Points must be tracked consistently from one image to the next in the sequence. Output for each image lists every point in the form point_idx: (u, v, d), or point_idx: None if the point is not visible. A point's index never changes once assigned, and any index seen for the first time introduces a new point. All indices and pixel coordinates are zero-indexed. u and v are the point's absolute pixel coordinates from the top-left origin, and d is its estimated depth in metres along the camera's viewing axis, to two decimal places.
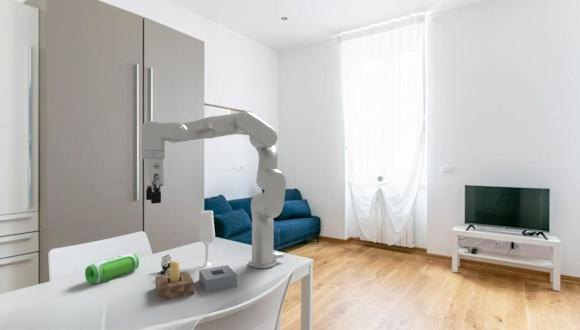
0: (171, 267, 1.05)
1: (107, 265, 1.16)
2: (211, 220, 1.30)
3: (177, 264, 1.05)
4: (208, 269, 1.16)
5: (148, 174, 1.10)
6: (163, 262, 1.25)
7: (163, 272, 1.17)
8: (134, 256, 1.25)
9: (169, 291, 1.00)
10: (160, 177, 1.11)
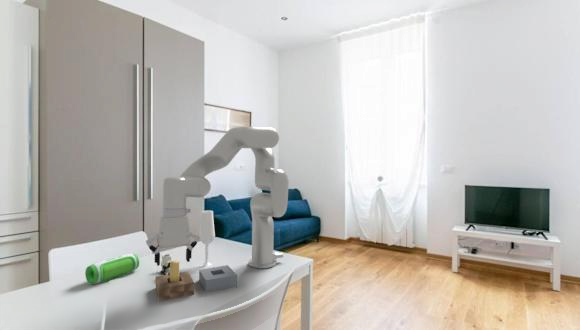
0: (171, 267, 1.05)
1: (107, 265, 1.15)
2: (211, 220, 1.30)
3: (177, 264, 1.05)
4: (208, 269, 1.16)
5: (184, 233, 1.05)
6: (163, 262, 1.25)
7: (163, 272, 1.17)
8: (134, 256, 1.25)
9: (169, 291, 1.00)
10: None
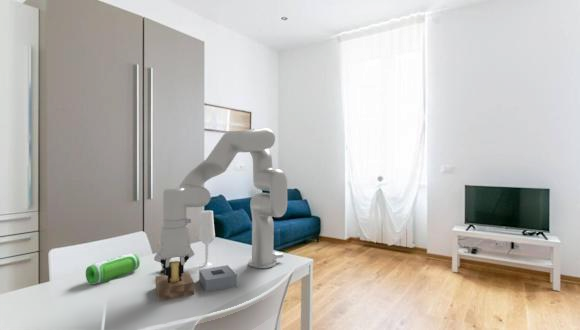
0: (171, 267, 1.05)
1: (108, 265, 1.15)
2: (211, 220, 1.30)
3: (177, 264, 1.05)
4: (208, 269, 1.16)
5: (185, 244, 1.05)
6: None
7: (163, 271, 1.18)
8: (134, 256, 1.25)
9: (169, 291, 1.00)
10: None
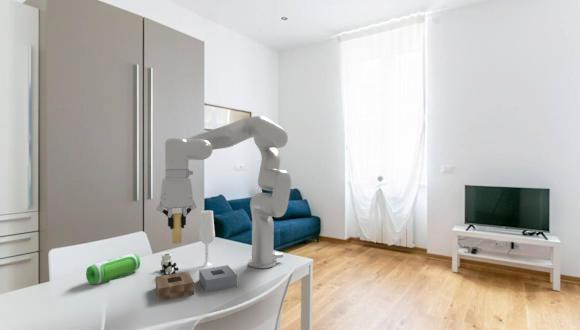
0: (173, 218, 1.05)
1: (108, 266, 1.15)
2: (211, 220, 1.30)
3: (180, 215, 1.05)
4: (208, 269, 1.16)
5: (187, 195, 1.05)
6: (163, 261, 1.26)
7: (163, 271, 1.18)
8: (135, 256, 1.25)
9: (169, 291, 1.00)
10: None
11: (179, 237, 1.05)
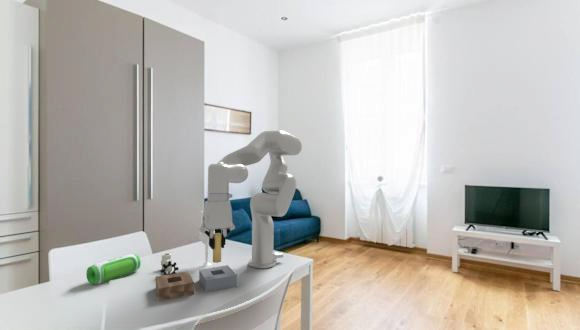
0: (214, 238, 1.11)
1: (108, 266, 1.15)
2: None
3: (220, 235, 1.12)
4: (208, 269, 1.16)
5: (227, 216, 1.12)
6: (163, 261, 1.26)
7: (163, 270, 1.19)
8: (135, 257, 1.24)
9: (169, 291, 1.00)
10: None
11: (219, 256, 1.12)
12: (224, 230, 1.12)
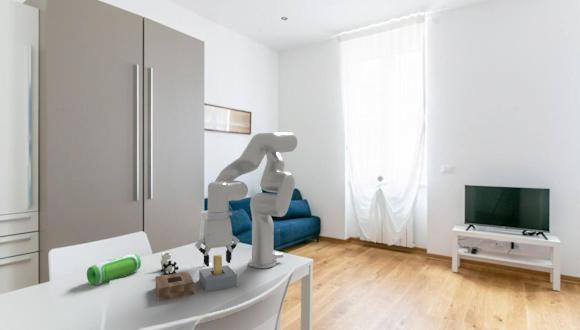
0: (215, 260, 1.12)
1: (109, 266, 1.15)
2: None
3: (220, 257, 1.12)
4: (208, 269, 1.16)
5: (228, 234, 1.12)
6: (163, 260, 1.27)
7: (164, 270, 1.19)
8: (135, 257, 1.24)
9: (169, 291, 1.00)
10: None
11: None
12: (228, 246, 1.14)
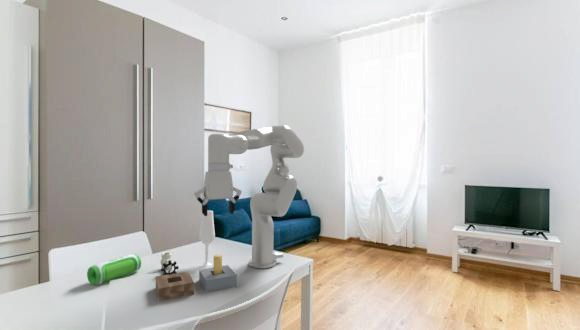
0: (215, 261, 1.12)
1: (109, 266, 1.15)
2: (211, 220, 1.30)
3: (221, 258, 1.12)
4: (208, 269, 1.16)
5: (228, 186, 1.12)
6: (163, 260, 1.27)
7: (164, 269, 1.19)
8: (136, 257, 1.24)
9: (169, 291, 1.00)
10: None
11: None
12: (230, 198, 1.14)
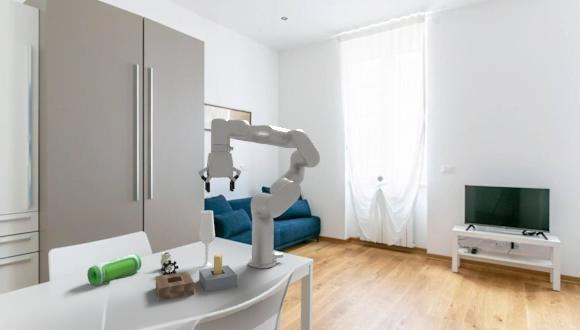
0: (215, 260, 1.12)
1: (110, 266, 1.15)
2: (211, 220, 1.30)
3: (221, 258, 1.12)
4: (208, 269, 1.16)
5: (229, 166, 1.24)
6: (163, 259, 1.28)
7: (164, 269, 1.20)
8: (136, 257, 1.24)
9: (169, 291, 1.00)
10: None
11: None
12: (231, 177, 1.26)
